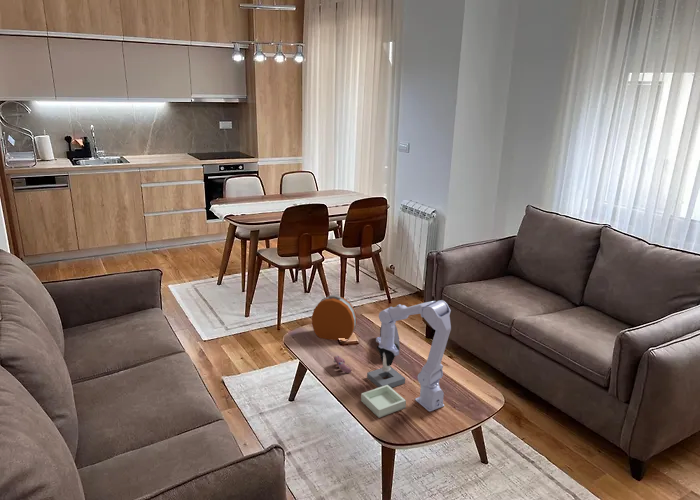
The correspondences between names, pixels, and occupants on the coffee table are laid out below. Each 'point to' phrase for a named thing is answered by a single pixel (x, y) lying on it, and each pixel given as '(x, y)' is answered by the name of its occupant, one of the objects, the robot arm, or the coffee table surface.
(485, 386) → the coffee table surface
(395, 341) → the bluetooth speaker
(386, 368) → the cylinder
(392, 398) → the parts tray
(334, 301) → the alarm clock
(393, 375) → the grey square frame
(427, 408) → the robot arm
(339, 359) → the video game controller
